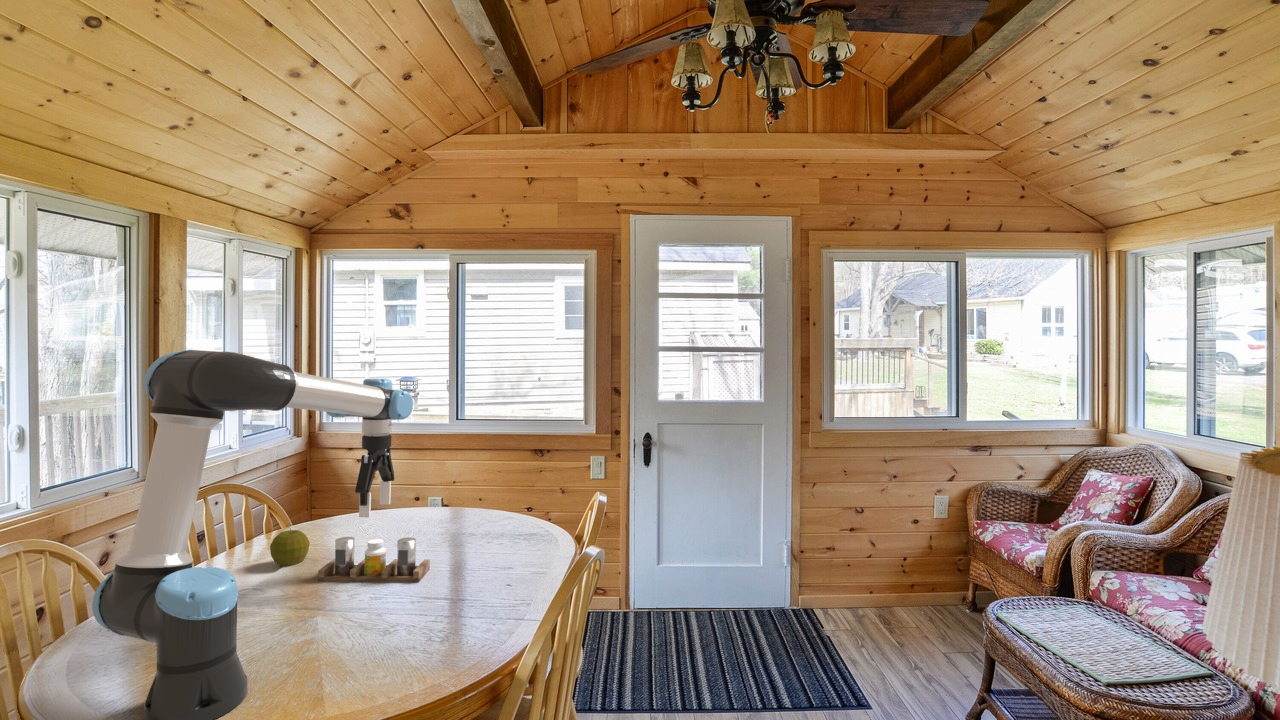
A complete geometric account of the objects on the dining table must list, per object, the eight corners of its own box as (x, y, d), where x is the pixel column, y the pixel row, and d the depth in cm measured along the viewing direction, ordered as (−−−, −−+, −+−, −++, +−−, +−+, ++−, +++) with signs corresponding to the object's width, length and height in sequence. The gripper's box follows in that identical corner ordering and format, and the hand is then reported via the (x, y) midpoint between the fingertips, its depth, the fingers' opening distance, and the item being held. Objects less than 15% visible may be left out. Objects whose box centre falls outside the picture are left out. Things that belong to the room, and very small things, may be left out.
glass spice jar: (411, 580, 163) (411, 543, 163) (393, 579, 163) (393, 543, 163) (417, 572, 169) (418, 537, 168) (400, 572, 168) (401, 537, 168)
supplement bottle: (360, 578, 164) (360, 543, 163) (372, 571, 169) (373, 537, 169) (377, 580, 163) (378, 545, 162) (389, 572, 168) (390, 538, 168)
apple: (262, 569, 171) (262, 531, 171) (289, 557, 181) (289, 521, 181) (290, 572, 169) (291, 534, 169) (316, 561, 179) (317, 524, 178)
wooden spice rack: (418, 585, 162) (418, 571, 162) (318, 585, 161) (318, 570, 161) (429, 573, 171) (429, 559, 171) (334, 572, 170) (334, 558, 170)
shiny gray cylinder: (348, 579, 163) (348, 543, 162) (330, 579, 163) (330, 543, 162) (357, 571, 168) (357, 536, 168) (340, 571, 168) (340, 536, 168)
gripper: (371, 441, 153) (369, 523, 153) (406, 428, 177) (405, 499, 178) (342, 440, 152) (340, 522, 153) (381, 428, 177) (380, 499, 177)
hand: (375, 510), depth 165 cm, fingers open, 13 cm apart
